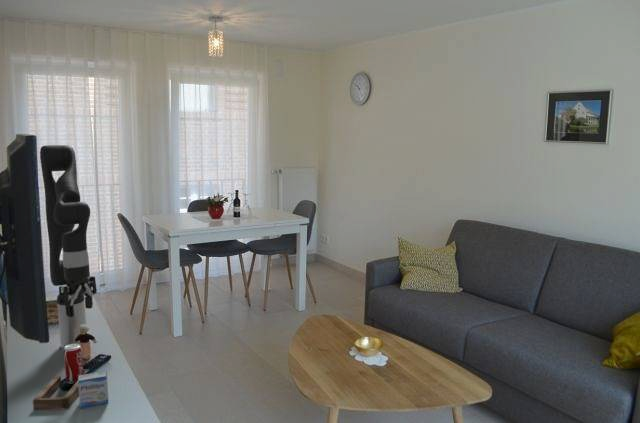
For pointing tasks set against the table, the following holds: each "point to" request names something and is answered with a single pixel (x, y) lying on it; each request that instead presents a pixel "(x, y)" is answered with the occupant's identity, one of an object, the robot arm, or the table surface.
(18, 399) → the table surface
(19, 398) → the table surface
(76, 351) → the soda can
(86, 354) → the grandmother figurine
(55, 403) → the u rest
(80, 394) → the medicine box
